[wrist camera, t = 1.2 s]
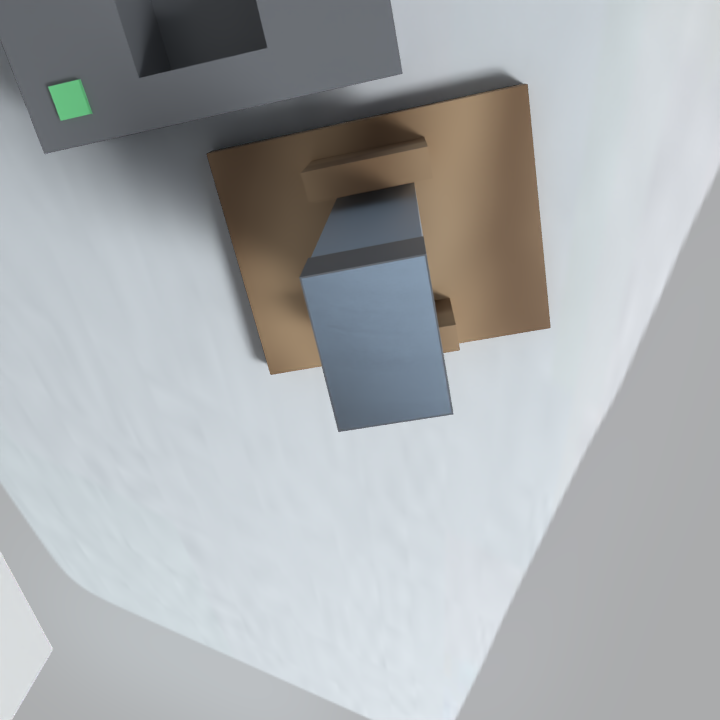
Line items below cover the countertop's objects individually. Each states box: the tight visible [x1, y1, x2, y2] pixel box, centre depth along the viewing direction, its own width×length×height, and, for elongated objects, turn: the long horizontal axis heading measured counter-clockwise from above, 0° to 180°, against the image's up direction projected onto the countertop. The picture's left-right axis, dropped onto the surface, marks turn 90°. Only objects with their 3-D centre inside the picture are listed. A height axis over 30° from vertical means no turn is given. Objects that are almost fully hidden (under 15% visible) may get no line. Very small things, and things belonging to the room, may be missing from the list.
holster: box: [207, 84, 550, 375], centre depth 29 cm, size 14×11×4 cm
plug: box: [299, 183, 453, 432], centre depth 24 cm, size 4×5×12 cm
